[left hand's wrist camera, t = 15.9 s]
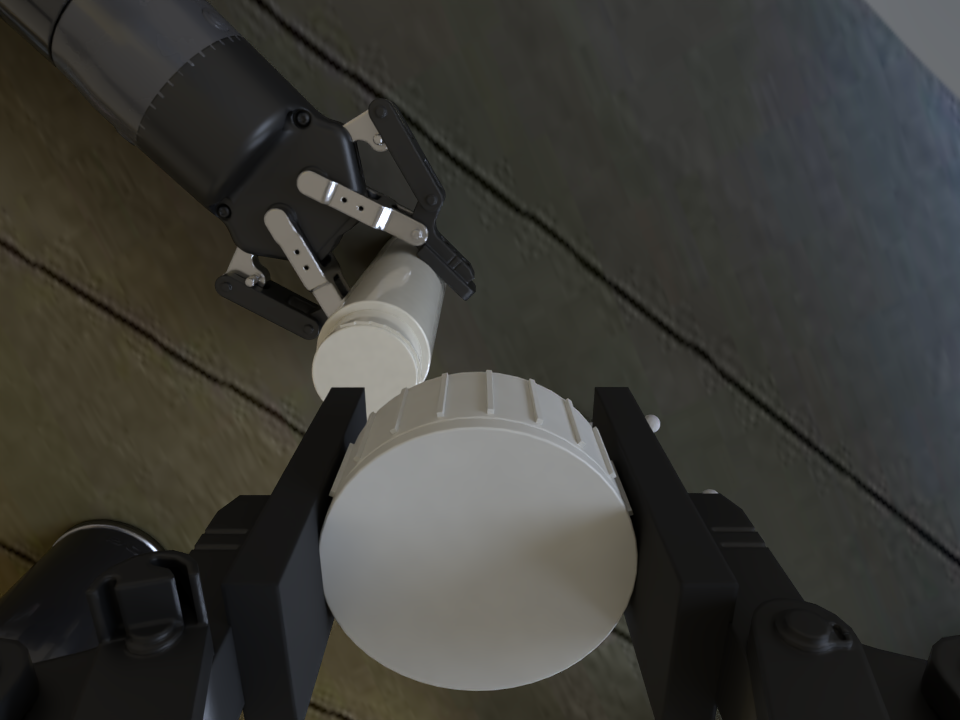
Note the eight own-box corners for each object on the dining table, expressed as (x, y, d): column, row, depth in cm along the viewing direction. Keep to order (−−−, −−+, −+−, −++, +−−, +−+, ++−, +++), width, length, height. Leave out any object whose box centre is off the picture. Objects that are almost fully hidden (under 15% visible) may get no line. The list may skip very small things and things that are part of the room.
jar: (457, 289, 42) (441, 415, 24) (391, 306, 42) (326, 443, 24) (438, 221, 40) (405, 302, 22) (370, 240, 40) (283, 334, 22)
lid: (454, 309, 11) (447, 353, 9) (672, 474, 12) (712, 549, 10) (288, 511, 13) (249, 591, 10) (498, 642, 14) (501, 739, 12)
